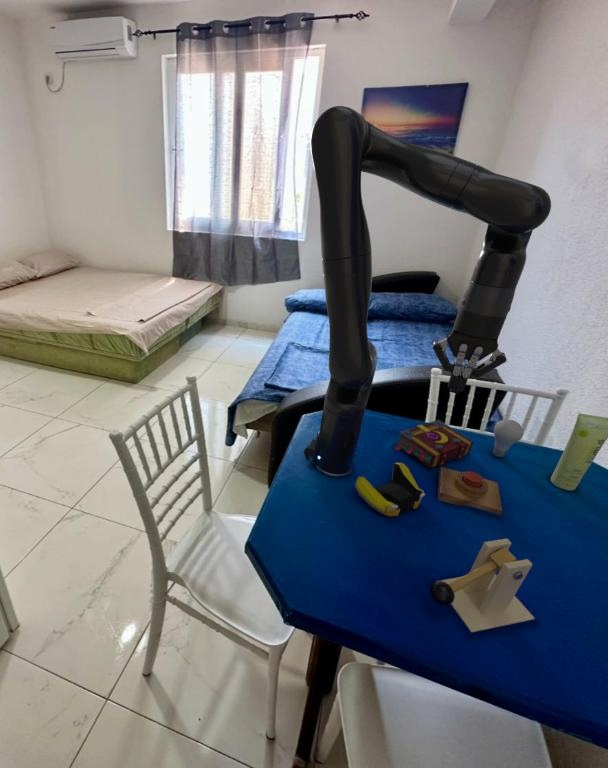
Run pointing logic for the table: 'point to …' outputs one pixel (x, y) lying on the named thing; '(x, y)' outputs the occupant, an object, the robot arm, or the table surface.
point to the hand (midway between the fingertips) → (453, 391)
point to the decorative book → (434, 443)
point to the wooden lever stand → (492, 592)
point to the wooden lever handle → (468, 578)
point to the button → (473, 479)
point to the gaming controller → (392, 492)
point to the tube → (580, 450)
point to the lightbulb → (506, 436)
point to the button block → (468, 492)
